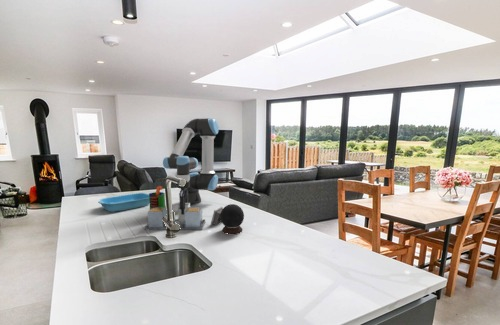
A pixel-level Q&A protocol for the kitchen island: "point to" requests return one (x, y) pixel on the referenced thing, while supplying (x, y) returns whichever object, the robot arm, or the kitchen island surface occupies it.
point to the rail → (191, 223)
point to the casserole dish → (125, 202)
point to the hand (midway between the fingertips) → (184, 217)
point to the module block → (180, 210)
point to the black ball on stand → (232, 219)
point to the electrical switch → (216, 216)
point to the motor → (157, 198)
